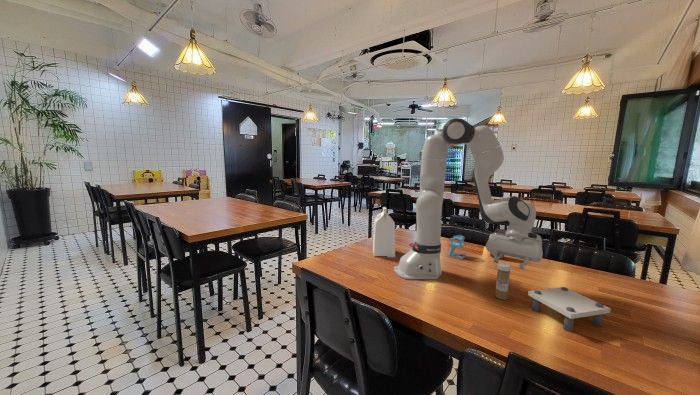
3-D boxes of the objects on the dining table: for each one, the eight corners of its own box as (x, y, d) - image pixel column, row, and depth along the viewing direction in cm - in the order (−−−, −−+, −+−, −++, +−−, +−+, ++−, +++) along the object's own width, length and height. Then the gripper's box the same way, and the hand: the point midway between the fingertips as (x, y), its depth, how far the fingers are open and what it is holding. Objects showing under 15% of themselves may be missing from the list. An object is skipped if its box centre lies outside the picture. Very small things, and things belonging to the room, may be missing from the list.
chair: (451, 253, 166) (452, 232, 165) (466, 256, 161) (467, 234, 160) (446, 256, 160) (447, 235, 158) (462, 259, 155) (463, 238, 154)
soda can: (505, 260, 156) (507, 238, 154) (491, 258, 157) (493, 237, 155) (501, 255, 163) (503, 234, 161) (488, 254, 164) (489, 233, 162)
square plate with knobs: (568, 333, 90) (571, 312, 89) (526, 307, 106) (528, 289, 105) (607, 327, 94) (610, 306, 93) (561, 303, 110) (563, 285, 109)
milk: (395, 257, 158) (396, 210, 154) (374, 256, 158) (375, 209, 155) (392, 250, 170) (393, 206, 166) (372, 249, 170) (373, 206, 166)
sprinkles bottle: (493, 297, 114) (496, 264, 112) (496, 293, 117) (499, 261, 115) (506, 301, 111) (509, 267, 109) (509, 297, 114) (512, 264, 112)
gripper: (489, 227, 127) (479, 254, 121) (545, 236, 113) (536, 267, 107) (492, 235, 130) (482, 262, 125) (546, 245, 116) (538, 275, 111)
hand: (508, 264), depth 116 cm, fingers open, 8 cm apart
